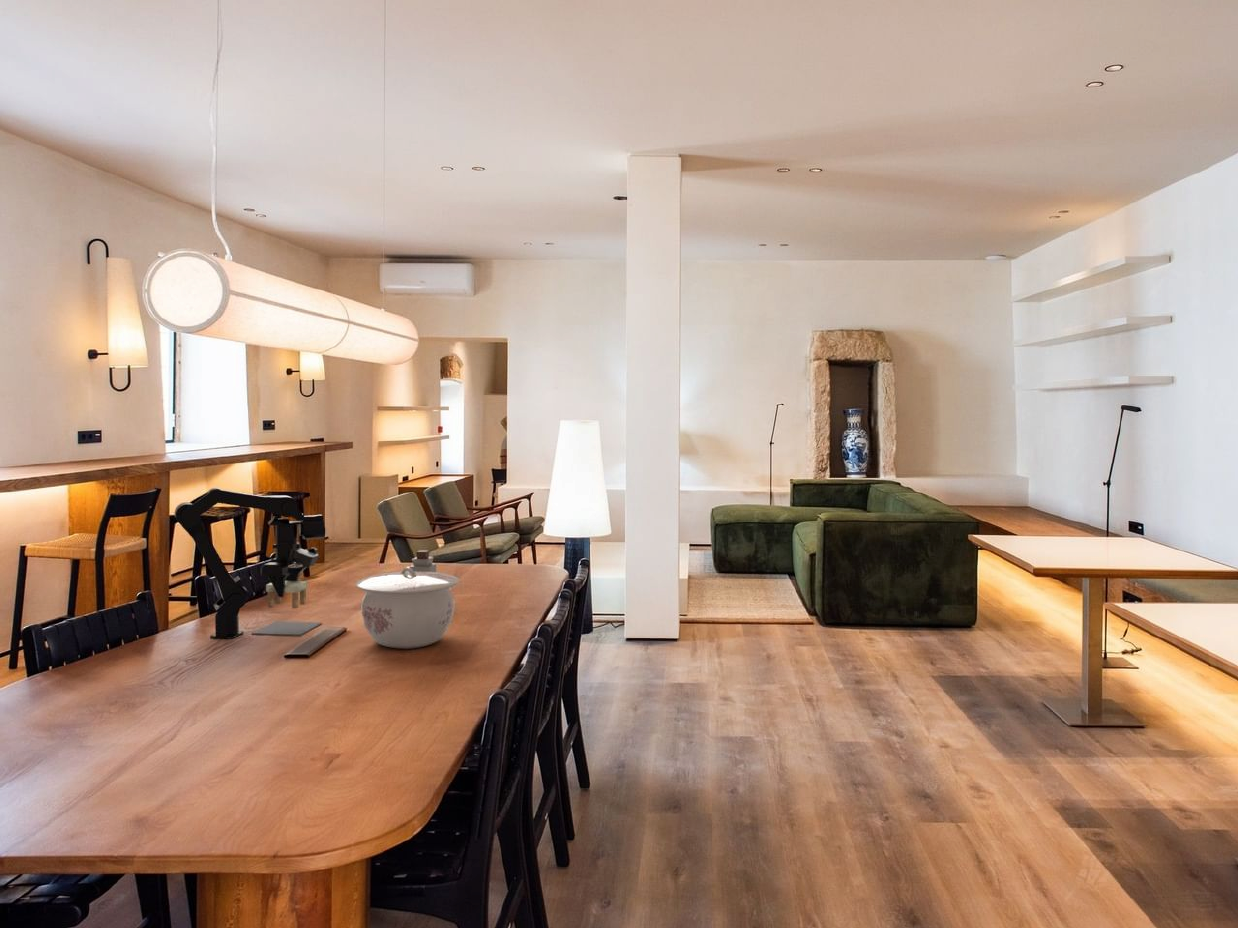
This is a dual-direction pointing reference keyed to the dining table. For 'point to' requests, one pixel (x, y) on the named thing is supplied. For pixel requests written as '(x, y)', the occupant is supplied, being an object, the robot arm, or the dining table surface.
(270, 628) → the felt pad
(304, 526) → the robot arm
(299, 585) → the stool
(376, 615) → the chamber pot
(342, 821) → the dining table surface
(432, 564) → the perfume bottle
